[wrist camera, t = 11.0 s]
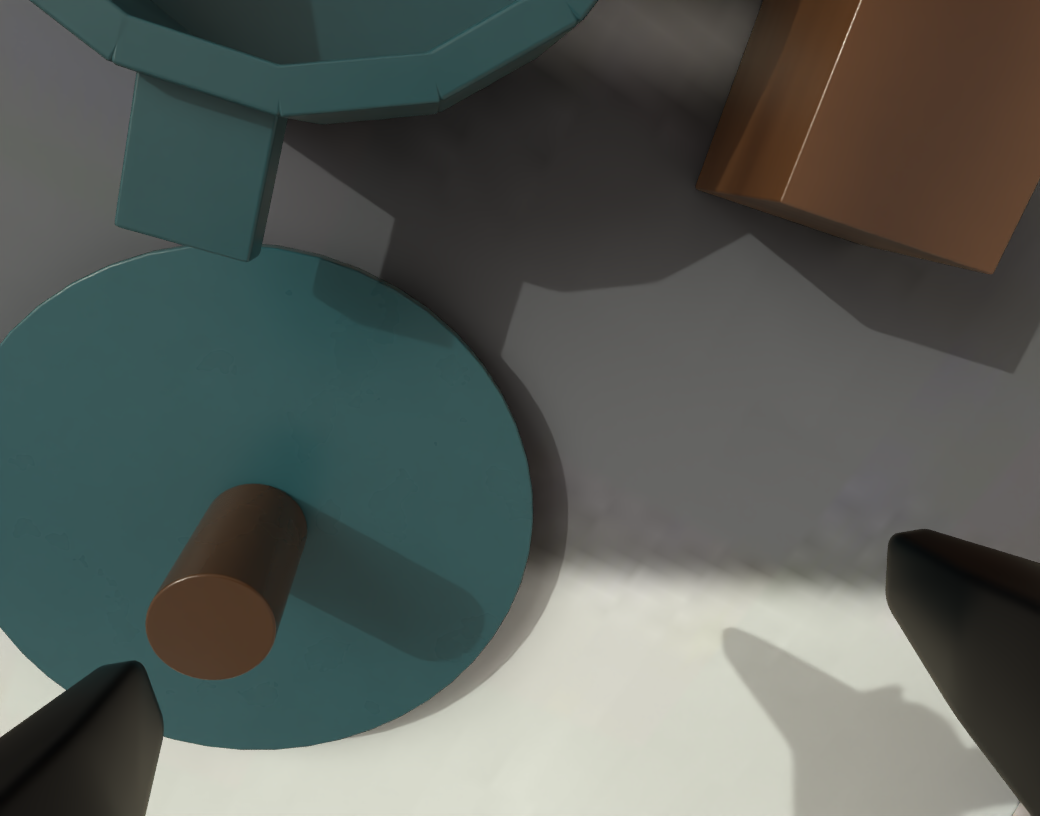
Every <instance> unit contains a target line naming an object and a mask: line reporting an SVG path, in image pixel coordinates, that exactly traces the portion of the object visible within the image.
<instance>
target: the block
mask: <svg viewBox="0 0 1040 816" xmlns="http://www.w3.org/2000/svg"><path fill="white" fill-rule="evenodd" d="M1039 180H1040V0H763V2H762V5H761V8H760V11H759V13H758V16H757V19H756V22H755V24H754V27H753V30H752V33H751V35H750V38H749V41H748V44H747V46H746V49H745V52H744V55H743V57H742V60H741V63H740V66H739V68H738V71H737V74H736V77H735V79H734V82H733V85H732V88H731V90H730V93H729V96H728V99H727V101H726V104H725V107H724V110H723V112H722V115H721V118H720V121H719V123H718V126H717V129H716V132H715V134H714V137H713V140H712V143H711V145H710V148H709V151H708V154H707V156H706V159H705V162H704V165H703V167H702V170H701V173H700V176H699V178H698V181H697V184H696V189H697V190H700V191H703V192H706V193H709V194H712V195H715V196H718V197H721V198H724V199H727V200H730V201H733V202H736V203H739V204H742V205H745V206H748V207H751V208H753V209H756V210H759V211H762V212H765V213H768V214H771V215H774V216H777V217H780V218H783V219H786V220H789V221H792V222H795V223H798V224H801V225H804V226H807V227H810V228H813V229H816V230H819V231H822V232H825V233H828V234H831V235H834V236H837V237H840V238H842V239H845V240H848V241H851V242H854V243H857V244H860V245H864V246H868V247H873V248H877V249H881V250H886V251H890V252H894V253H899V254H903V255H907V256H912V257H916V258H920V259H925V260H929V261H933V262H937V263H942V264H946V265H950V266H955V267H959V268H963V269H968V270H972V271H976V272H981V273H985V274H993V273H994V271H995V269H996V267H997V265H998V263H999V261H1000V259H1001V257H1002V255H1003V253H1004V251H1005V249H1006V247H1007V245H1008V243H1009V241H1010V238H1011V236H1012V234H1013V232H1014V230H1015V228H1016V226H1017V224H1018V222H1019V220H1020V218H1021V216H1022V214H1023V212H1024V210H1025V208H1026V206H1027V204H1028V202H1029V200H1030V198H1031V196H1032V194H1033V192H1034V190H1035V188H1036V186H1037V184H1038V182H1039Z"/></svg>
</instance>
